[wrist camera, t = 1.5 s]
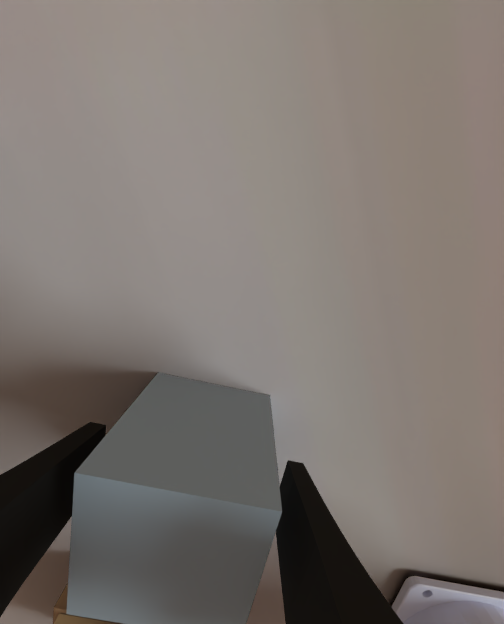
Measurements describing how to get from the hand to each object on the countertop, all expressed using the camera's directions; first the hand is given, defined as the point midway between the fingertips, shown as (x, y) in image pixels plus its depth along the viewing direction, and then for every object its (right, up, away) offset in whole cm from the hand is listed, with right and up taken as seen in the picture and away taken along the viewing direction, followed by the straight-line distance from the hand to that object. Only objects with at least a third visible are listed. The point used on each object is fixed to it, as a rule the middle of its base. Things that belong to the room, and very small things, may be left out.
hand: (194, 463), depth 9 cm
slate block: (0, 0, +2) cm, 2 cm away
